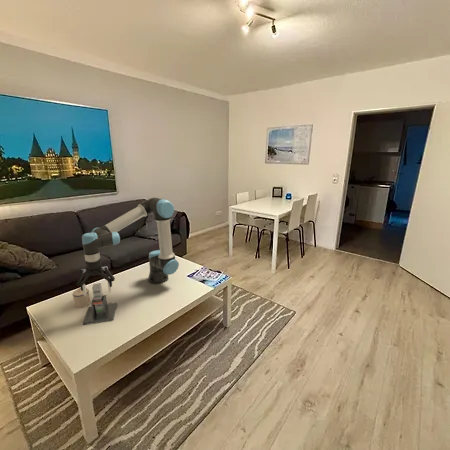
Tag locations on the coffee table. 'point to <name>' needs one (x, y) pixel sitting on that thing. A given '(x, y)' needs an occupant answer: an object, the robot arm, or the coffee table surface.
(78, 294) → the teacup with lid
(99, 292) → the column
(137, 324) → the coffee table surface
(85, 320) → the stand base
